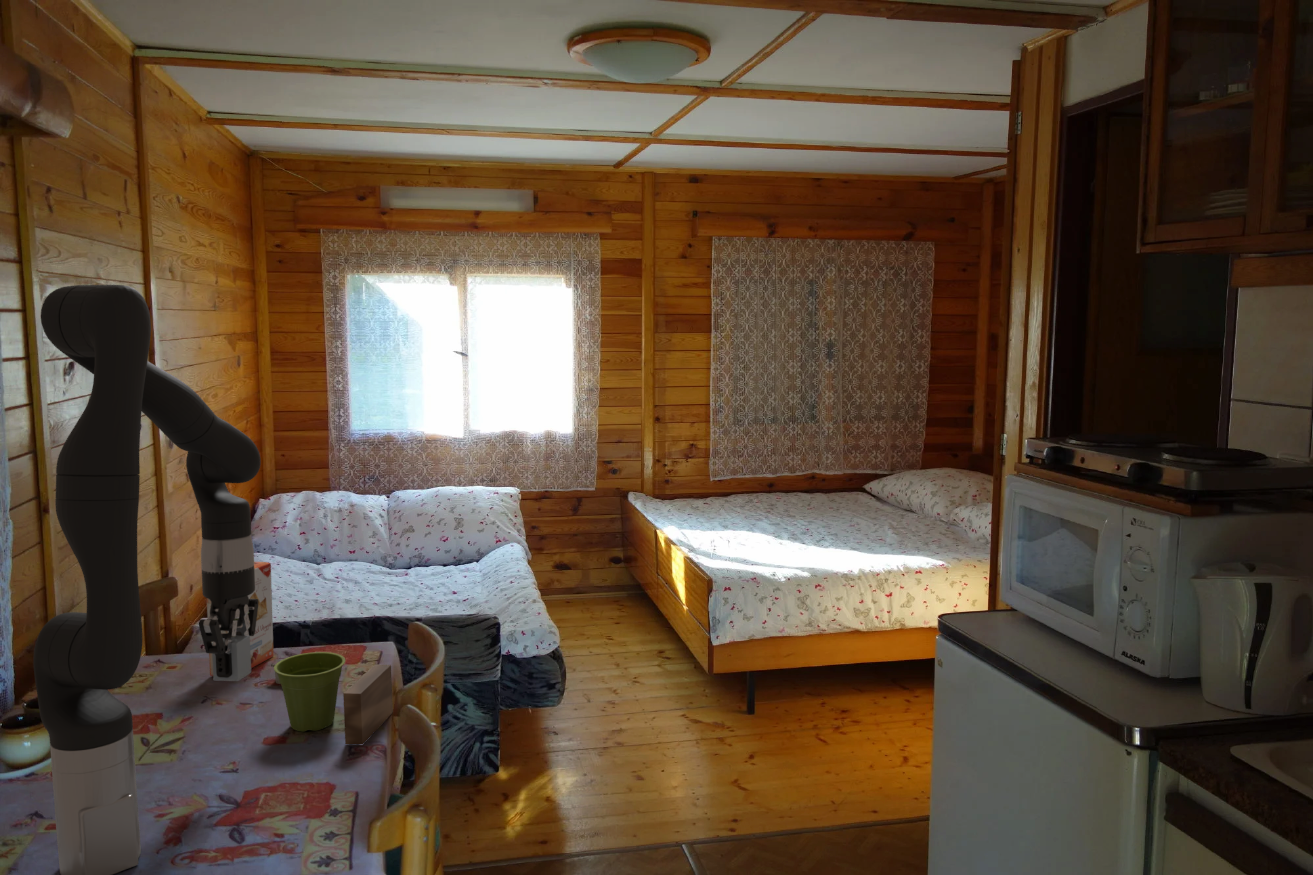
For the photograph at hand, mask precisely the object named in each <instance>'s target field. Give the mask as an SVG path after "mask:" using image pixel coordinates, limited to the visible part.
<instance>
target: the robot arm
mask: <svg viewBox="0 0 1313 875" xmlns="http://www.w3.org/2000/svg"><path fill="white" fill-rule="evenodd" d="M40 322H41V327H42V330H43V332H44V335H45V336H46V337H47V339H48V340H49V342H50V343H51V344H52V345H53V346H54V347H55V348H56V349H57V350H59V351H60V352H61V353H63V355H65V356H66V357H68V358H69V359H71V360H72V361H74V362H75V363H76V364H78V365H79V366H81V367H82V368H84V369H85V370H86V371H88V372H90V373H91V374H92V375H93V382H92V383H93V384H92V388H91V393H90V397H89V399H88V402H87V404H86V407H85V408H84V409H83V412H82V414H81V415H80V417H79V418H78V420H77V422H76V423H75V425H74V427H73V428H72V430H71V431H70V433H69V435H68V436H67V438H66V440H65V441H64V443H63V445H62V447H61V450H60V452H59V454H58V457H57V462H56V465H55V466H56V469H55V474H56V475H55V499H54V503H55V513H56V516H57V520H58V523H59V526H60V528H61V531H62V533H63V535H64V537H65V539H66V542H67V543H68V545H69V547H70V549H71V550H72V553H73V555H74V556H75V558H76V560H77V562H78V565H79V567H80V568H81V572H82V574H83V575H82V576H83V579H84V583H85V591H86V592H85V593H86V594H85V596H86V612H79V611H78V612H77V611H71V612H64V613H59V614H58V615H56V616H53V617H52V618H51V619H50V620H48V621H47V622H46V623H45V624H44V625H43V627H42V628H41V630H40V631H39V633H38V636H37V639H36V640H35V645H34V649H33V659H32V660H33V671H34V672H33V674H34V681H35V688H36V689H35V690H36V694H37V695H36V696H37V703H38V710H39V717H40V720H41V724H42V725H43V727H44V728H45V729H46V731H47V733H48V736H49V745H50V746H49V748H50V760H51V776H52V778H51V779H52V788H53V790H52V791H53V803H54V804H53V805H54V816H55V828H56V829H55V830H56V843H57V851H58V853H57V854H58V865H59V874H60V875H115V874H118V873H120V872H122V871H125V870H127V869H131V868H133V867H135V866H138V865H139V857H140V856H141V854H142V848H141V845H142V844H141V830H140V820H139V804H138V803H139V802H138V788H137V787H138V786H137V773H136V760H135V743H134V742H135V741H134V726H133V714H132V713H133V712H132V711H131V708H130V707H129V706H128V705H127V704H126V703H125V702H123V701H121V700H120V699H118V698H117V697H115V695H113V694H112V693H111V692H110V691H109V690H115V689H119V688H121V687H123V686H125V684H126V683H128V682H129V681H130V679H132V677H133V676H134V674H135V673H136V671H137V669H138V666H139V664H140V661H141V657H142V651H143V650H142V649H143V625H142V623H143V622H142V612H141V600H140V586H139V572H138V568H139V566H138V520H139V518H138V517H139V503H140V478H141V475H140V473H141V472H140V471H141V470H140V467H141V466H140V445H141V444H140V443H141V425H142V423H141V422H142V413H143V414H144V415H145V416H146V417H147V418H148V419H149V420H150V421H151V422H152V423H153V424H154V425H155V426H156V427H157V428H158V429H159V431H161V432H162V433H163V435H165V436H166V437H167V438H168V440H169V441H170V442H172V443H173V444H174V445H175V446H176V447H177V448H178V449H181V450H182V451H185V452H187V453H186V460H185V461H186V462H185V465H186V473H187V477H188V478H189V481H190V485H191V488H192V491H193V493H194V496H195V500H196V502H197V505H198V508H199V511H200V518H201V519H200V520H201V521H200V522H201V525H200V526H201V547H200V562H201V563H200V565H201V566H200V568H201V584H202V587H201V588H202V591H201V592H202V596H203V597H204V598H205V599H207V598H208V599H209V600H210V601H211V608H210V616H209V617H208V616H207V618H206V619H204V618H203V619H200V620H199V621H198V627H199V632H200V635H201V638H202V641H203V645H204V651H205V653H206V654H209V653H211V654H215V656H216V674H217V676H218V677H224V678H228V677H230V676H231V675H232V656H231V649H232V640H233V638H235V637H236V635H238V636H254V634H255V628H256V620H257V612H258V604H259V600H258V599H249V598H248V595H250V594H252V593H253V592H254V591H255V572H254V562H255V552H254V551H255V550H254V545H253V544H254V543H253V540H252V539H253V537H252V518H251V516H252V515H251V506H250V503H249V502H248V500H247V499H245V498H242V497H239V496H236V495H234V494H232V493H231V492H230V490H229V489H228V487H227V485H226V484H244V483H248V482H250V481H252V480H253V479H254V478H255V477H256V476H257V475H258V473H259V471H260V469H261V454H260V451H259V449H258V447H257V445H256V444H255V443H254V441H253V439H251V437H249V436H248V435H246V434H245V433H244V432H242V431H241V430H240V429H238V428H236V427H235V426H234V425H233V424H231V423H229V422H228V421H226V420H224V419H222V418H220V417H219V416H218V415H216V413H215V412H214V411H213V409H211V408H210V406H208V404H207V403H206V402H205V401H204V400H203V399H202V397H200V395H198V393H197V392H196V391H194V389H193V388H192V387H190V386H189V385H188V384H186V383H185V382H183V381H182V380H181V379H179V378H178V377H176V376H174V375H172V374H171V373H170V372H167V371H165V370H164V369H162V368H160V367H158V366H157V365H155V364H153V363H152V362H150V361H149V355H150V354H149V352H150V345H151V333H152V325H151V324H152V322H151V314H150V310H149V306H148V303H147V302H146V300H145V297H144V296H143V295H142V294H141V292H140V291H139V290H137V289H136V288H134V287H132V286H129V285H124V284H78V285H77V284H75V285H67V286H62V287H58V288H56V289H54V290H53V291H52V292H50V293H49V294H48V295H47V296H46V297H45V299H44V301H43V303H42V306H41V310H40ZM248 612H249V613H248ZM249 621H250V622H249ZM221 631H228V633H221ZM223 638H224V639H225V646H224V642H223ZM212 642H213V645H212Z"/></svg>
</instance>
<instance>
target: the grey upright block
mask: <svg viewBox="0 0 1313 875" xmlns="http://www.w3.org/2000/svg"><path fill="white" fill-rule="evenodd" d="M223 642H224V646H225V639H224V638H223ZM212 645H213V642H212ZM231 656H232V675H231V676H230V677H228V678H224V677H218V676H217V674H216V656H215V654H212V658H213V676H212V677H213V678H212V679H213V681H215V682H216V681H219V682H224V681H225V682H239V681H241V680H242V679H244V678H245V677H247V676H249V674H251V673H252V668H251V654H250V636H238V635H236V637H235V638H233V640H232V649H231Z"/></svg>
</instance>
